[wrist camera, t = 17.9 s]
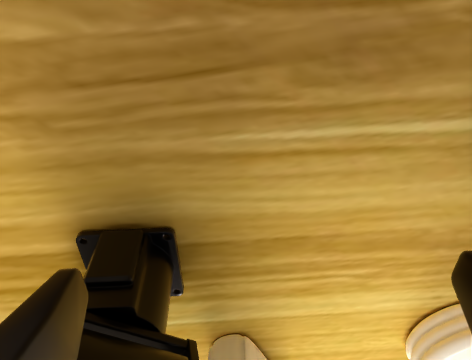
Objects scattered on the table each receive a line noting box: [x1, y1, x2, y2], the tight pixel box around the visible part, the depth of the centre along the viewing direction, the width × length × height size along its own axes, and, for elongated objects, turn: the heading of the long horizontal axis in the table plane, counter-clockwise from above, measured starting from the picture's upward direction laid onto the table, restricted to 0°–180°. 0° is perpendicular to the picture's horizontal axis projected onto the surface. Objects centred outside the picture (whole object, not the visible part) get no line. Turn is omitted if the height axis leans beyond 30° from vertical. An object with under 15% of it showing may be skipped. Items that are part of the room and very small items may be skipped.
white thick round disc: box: [405, 304, 472, 360], centre depth 32 cm, size 10×10×4 cm
